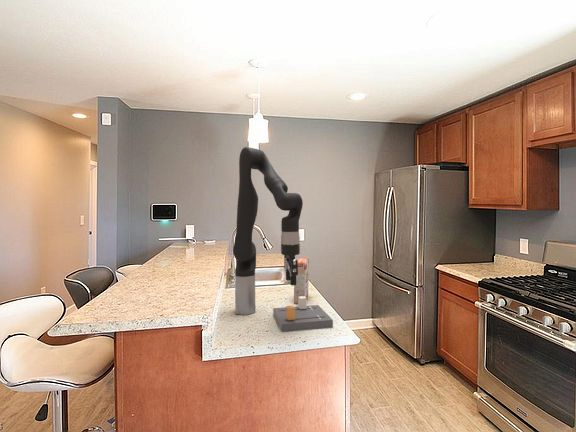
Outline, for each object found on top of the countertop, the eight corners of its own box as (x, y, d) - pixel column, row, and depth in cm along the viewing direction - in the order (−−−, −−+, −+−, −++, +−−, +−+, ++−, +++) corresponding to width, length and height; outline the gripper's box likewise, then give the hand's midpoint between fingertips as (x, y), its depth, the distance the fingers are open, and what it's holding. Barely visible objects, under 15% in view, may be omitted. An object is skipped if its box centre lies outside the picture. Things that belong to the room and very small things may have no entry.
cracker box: (305, 304, 160) (305, 262, 159) (293, 303, 161) (293, 262, 160) (309, 296, 173) (309, 257, 173) (298, 295, 175) (298, 257, 174)
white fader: (300, 309, 142) (299, 298, 141) (298, 307, 144) (298, 296, 144) (306, 308, 142) (306, 298, 142) (304, 306, 145) (304, 296, 145)
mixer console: (281, 331, 125) (281, 323, 125) (273, 314, 145) (273, 307, 145) (332, 327, 130) (332, 319, 129) (318, 311, 149) (318, 304, 149)
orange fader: (287, 320, 128) (287, 308, 128) (286, 317, 131) (286, 306, 131) (295, 319, 129) (295, 307, 129) (293, 317, 132) (293, 305, 132)
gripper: (277, 241, 135) (278, 279, 136) (284, 245, 121) (285, 287, 122) (295, 240, 137) (295, 278, 137) (304, 244, 123) (304, 286, 123)
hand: (290, 282), depth 130 cm, fingers open, 8 cm apart
